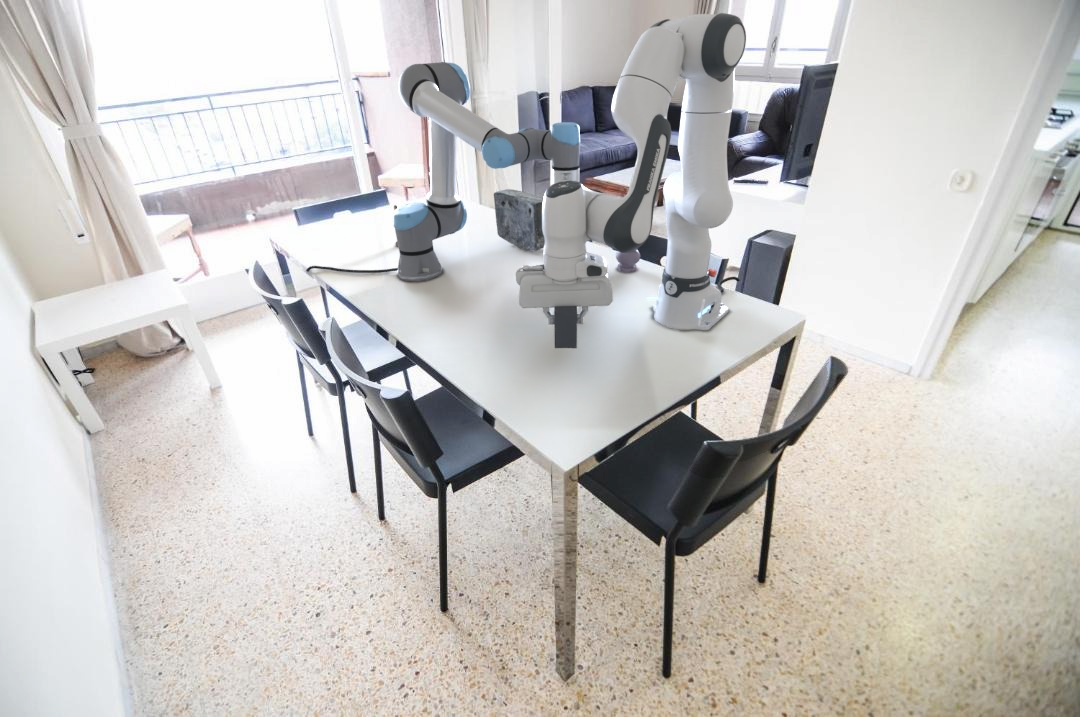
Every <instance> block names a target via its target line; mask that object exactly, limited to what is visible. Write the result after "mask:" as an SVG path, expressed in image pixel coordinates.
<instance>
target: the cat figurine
mask: <svg viewBox="0 0 1080 717" xmlns="http://www.w3.org/2000/svg"><path fill="white" fill-rule="evenodd" d="M638 249H639V248H637V249H636V250H634V251H632V252H629V253H621V252H619V251H617V250H616V253H615V258H616V261H617V262H618V264H617V271H619V272H621V273H633V272H635V271H636V270H637V264H638V262H639V261H640V260H641V253H640V252H639V250H638Z"/></svg>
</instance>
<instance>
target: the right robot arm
mask: <svg viewBox="0 0 1080 717" xmlns="http://www.w3.org/2000/svg"><path fill="white" fill-rule="evenodd" d="M746 45H747V32H746V28H745V26H744V24H743V21H742V20H741V18H740V17H739V16H736V15H735V14H730V13H725V12H720V13H718V14H712V13H697V14H696V13H695V14H690V15H688V16H687V15H686V16H683V17H678V18H673V19H669V18H667V19H663V20H661V21H658V22H656V23H654V24H652V26H650V27H649V28H647V29H646V30H645V31H644V32H643V33H642V34H641V35H640V37H639V38H638V40H637V42H636V43H635V45H634V47H633V48H632V51H631V52H630V54H629V57H627V61H626V62H625V64H624V67H623V69H622V71H621V74H620V77H619V79H618V82H617V85H616V87H615V90H614V93H613V95H612V99H611V105H610V106H611V107H610V110H611V115H612V119H613V121H614V123H615V126H616V127H617V128H618V129H619V130H620V131H621V132H622V133H623V134H624V135H625V136H626V137H628V138H629V139H631V140H632V141H633V143H635V145H636V150H637V156H636V160H635V164H634V168H633V172H632V175H631V179H630V183H629V187H628V190H627V193H626V195H624V196H623V197H619V196H615V195H610V194H608V193H603V192H599V191H595V190H592V189H589V188H587V187H586V186H584V185H583V184H582V182H580V181H579V182H578V181H571V180H569V181H563V182H562V181H561V182H558V183H555V184H553V183H552V184H551V185H550V186H548V187H547V188H546V189H545V192H544V195H543V197H542V198H543V204H542V231H543V235H544V238H545V244H544V248H542V255H543V257H542V258H543V264H535V265H527V264H526V265H522V266H521V267H520V268H518V269H517V270H516V272H515V282H516V283H517V285H518V286H519V289H518V305H519V307H521V308H522V309H542V313H543V314H544V316H545V317H546V318H547V322H548V323H547V325H550V326H551V325H553V326H554V314H552V313H551V312H550V308H551V309H553V308H554V307H555V306H577V308H578V307H581V311H580V312H579V313H577V325H581V324H582V325H583V324H584V318H585V316H586V315H587V313H588V312H589V307H608V306H611V304H612V303H613V300H614V298H613V297H614V296H613V286H612V281H611V277H610V274H609V272H608V270H609V269H608V262H607V260H606V258H605V257H604V256H602V255H598V254H595V253H592V252H589V251H587V246H586V244H587V242H589V241H592V242H594V243H595V242H596V243H599V244H601V245H603V246H606V247H609V248H611V249H612V250H615V251H616V252H617V251H619V252H621V253H629V252H632V251H634V250H636V249H637V248H638V249H639V248H640V247H641V246H643V245H644V244H645V243H646V242H647V240H648V239H649V237H650V235H651V232H652V227H653V221H654V209H655V205H656V200H657V196H658V192H659V188H660V184H661V180H662V177H663V174H664V170H665V165H666V161H667V157H668V153H669V150H670V144H671V139H672V138H671V137H672V127H671V123H670V121H669V120H668V112H669V106H670V104H671V100H672V98H673V95H674V92H675V90H676V87H677V83H678V80H680V79H681V80H685V86H684V90H683V94H682V95H683V96H682V102H681V111H680V121H679V130H678V139H677V150H678V155H679V159H680V160H679V161H680V169H678V170H675V171H673V172H672V173H671V174H670V175H668V176H667V177H666V180H665V181H664V184H663V188H662V195H663V199H664V204H665V221H666V233H667V242H666V243H667V246H666V257H665V266H664V268H663V270H662V271H663V272H662V274H661V283H660V284H659V287H658V292H657V297H656V296H655V297H646V301H656V303H655V304H653V305H652V310H653V312H654V313H653V314H654V315H653V318H654V320H655V321H656V322H657V323H659V324H660V325H662V326H664V327H666V328H669V329H674V330H684V331H685V330H688V331H689V330H699V331H709V330H711V328H712V327H714V326H715V325H716V324H717V323H718V322H719V321H720V320H721V319H722V318H724V317H725V316H726V315H727V314H728V313H729V310H730V308H729V306H727V305H725V303H722V299H723V293H724V291H725V289H724V287H723V285H722V284H724V283H726V282H728V281H736V282H740V278H739V277H737V276H728V277H726V278H723V279H722V280H720V281H719V282H718V283H717V287H716V286H715V285H714V284H712V283H711V278H716V276H717V273H718V271H717V269H713V268H709V267H710V266H709V265H710V258H711V254H712V253H711V252H712V239H711V236H710V229H714V228H717V227H719V226H721V225H723V224H724V223H725V222H726V221H727V220H728V219H729V218H730V216H731V214H732V212H733V207H734V199H733V197H732V194H731V191H730V187H729V172H728V141H729V134H730V126H731V120H732V113H733V112H732V110H733V104H734V95H735V70H736V69H737V67H738V65H739V63H740V62H741V60H742V58H743V56H744V53H745V49H746ZM638 249H637V250H638ZM710 277H711V278H710Z"/></svg>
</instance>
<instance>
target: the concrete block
mask: <svg viewBox="0 0 1080 717" xmlns="http://www.w3.org/2000/svg"><path fill="white" fill-rule="evenodd" d="M543 198H544V197H541V196H539V195H536V194H533V193H531V192H530V193H529V192H525V191H522V190H517V189H511V188H510V189H509V188H507V189H501V190H498V191H497V190H496V191H495V192H493V202H494V213H495V222H496V224H495V225H496V231H497V232H496V233H497V236H498V237H499V238H501V239H503V240H505V241H506V242H508V243H510V244H511V245H513V246H515V247H517V248H518V249H521V250H524V251H530V252H537V251H539V250H541V249H542V250H543V248H544V244H545V238H544V235H543V231H542V204H543Z"/></svg>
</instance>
